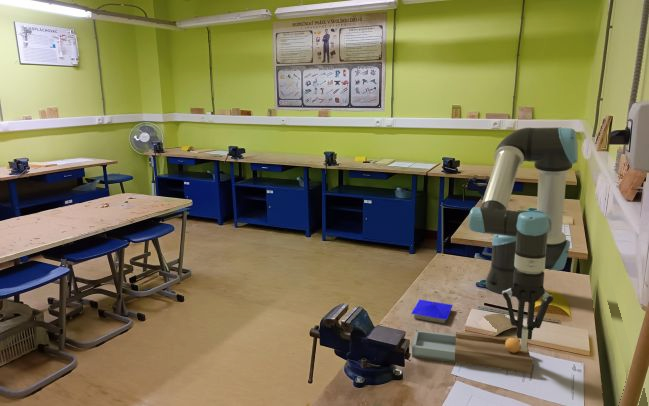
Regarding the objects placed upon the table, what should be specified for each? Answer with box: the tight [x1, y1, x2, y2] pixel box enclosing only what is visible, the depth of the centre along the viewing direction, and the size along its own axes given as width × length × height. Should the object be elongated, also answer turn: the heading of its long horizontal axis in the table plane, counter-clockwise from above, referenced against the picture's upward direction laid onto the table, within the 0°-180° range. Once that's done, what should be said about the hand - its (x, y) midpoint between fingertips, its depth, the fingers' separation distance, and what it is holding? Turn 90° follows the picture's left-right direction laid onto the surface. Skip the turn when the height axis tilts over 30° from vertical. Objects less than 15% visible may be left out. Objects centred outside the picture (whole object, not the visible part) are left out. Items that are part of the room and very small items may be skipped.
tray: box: [411, 329, 456, 364], centre depth 132 cm, size 10×12×3 cm
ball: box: [505, 337, 520, 353], centre depth 125 cm, size 4×4×4 cm
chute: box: [455, 332, 533, 374], centre depth 127 cm, size 10×20×4 cm, turn 72°
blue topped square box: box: [411, 299, 453, 324], centre depth 155 cm, size 12×12×5 cm
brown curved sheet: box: [483, 312, 517, 337], centre depth 146 cm, size 14×10×3 cm
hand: (523, 348), depth 124 cm, fingers closed
